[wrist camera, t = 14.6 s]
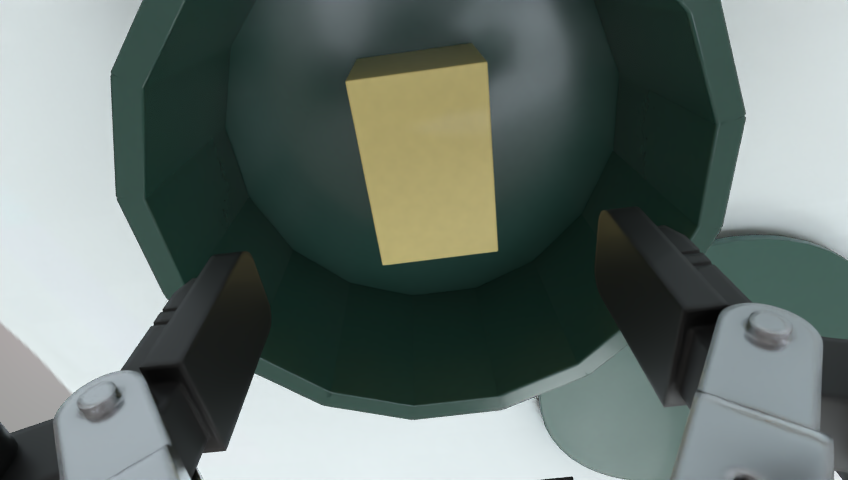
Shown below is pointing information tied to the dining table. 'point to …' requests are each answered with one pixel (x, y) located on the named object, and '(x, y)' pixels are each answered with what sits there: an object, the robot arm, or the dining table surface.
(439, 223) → the butter
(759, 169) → the dining table surface
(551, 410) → the pot lid
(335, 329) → the pot
